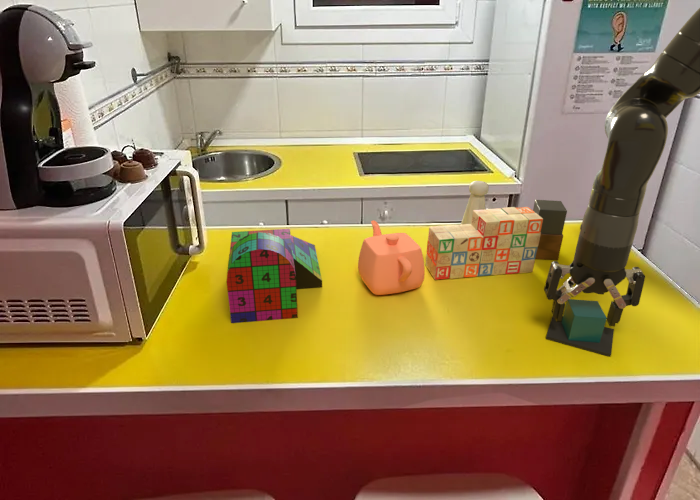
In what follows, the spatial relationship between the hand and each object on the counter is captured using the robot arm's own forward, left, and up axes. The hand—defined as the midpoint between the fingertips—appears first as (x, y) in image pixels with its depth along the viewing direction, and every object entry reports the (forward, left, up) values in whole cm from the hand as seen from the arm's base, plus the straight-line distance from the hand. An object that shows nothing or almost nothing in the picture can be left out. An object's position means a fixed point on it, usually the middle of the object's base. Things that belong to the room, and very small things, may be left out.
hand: (583, 321), depth 87 cm
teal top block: (0, 0, -2) cm, 2 cm away
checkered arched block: (+55, +10, -3) cm, 56 cm away
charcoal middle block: (+11, -28, +3) cm, 30 cm away
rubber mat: (0, 0, -3) cm, 3 cm away
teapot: (+36, -1, -3) cm, 36 cm away
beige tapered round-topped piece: (+27, -30, -3) cm, 40 cm away
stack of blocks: (+21, -14, -3) cm, 26 cm away
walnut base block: (+11, -28, -3) cm, 30 cm away
